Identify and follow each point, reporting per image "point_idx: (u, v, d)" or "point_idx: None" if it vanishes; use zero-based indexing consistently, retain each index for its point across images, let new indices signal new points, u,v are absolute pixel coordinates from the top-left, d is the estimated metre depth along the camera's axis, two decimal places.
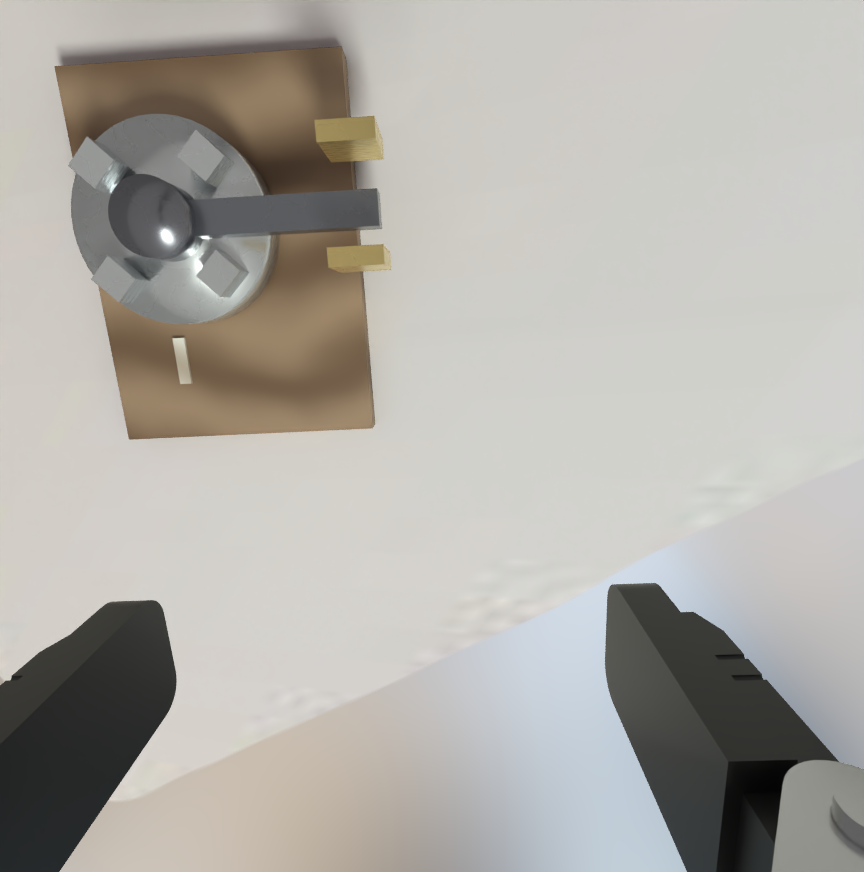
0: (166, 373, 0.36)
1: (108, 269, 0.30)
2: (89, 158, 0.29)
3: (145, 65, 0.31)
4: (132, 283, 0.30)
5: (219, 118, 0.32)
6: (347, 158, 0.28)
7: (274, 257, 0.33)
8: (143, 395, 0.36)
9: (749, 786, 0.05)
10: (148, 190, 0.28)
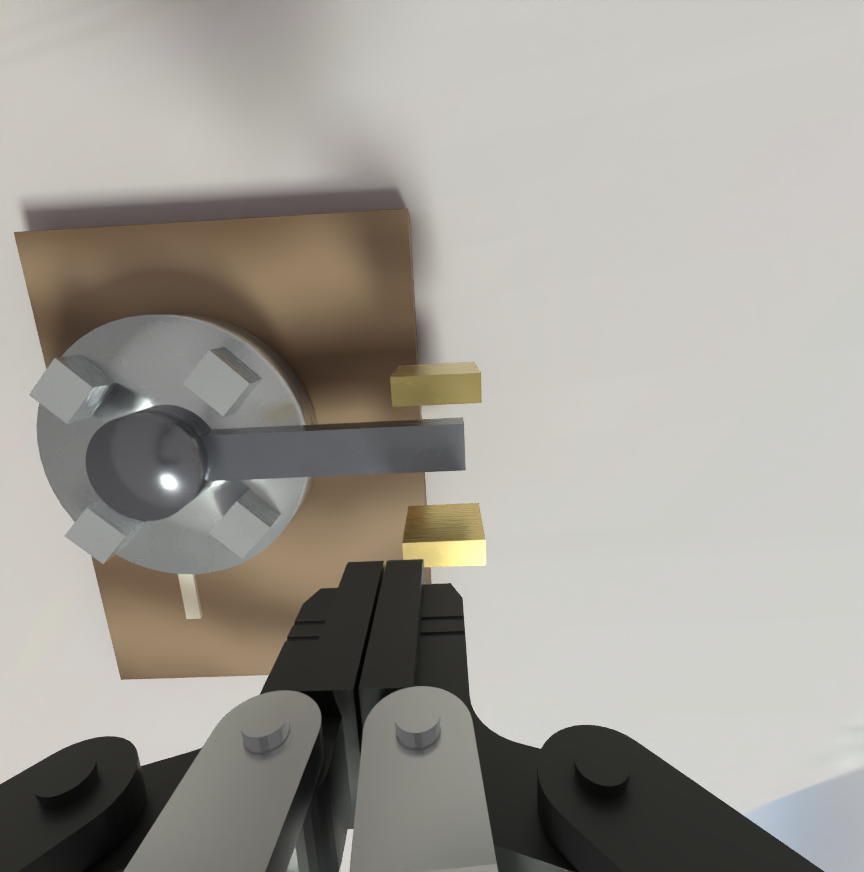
0: (168, 604, 0.27)
1: (88, 524, 0.22)
2: (59, 386, 0.20)
3: (137, 231, 0.23)
4: (121, 541, 0.22)
5: (239, 299, 0.23)
6: None
7: (312, 477, 0.25)
8: (139, 629, 0.28)
9: None
10: (143, 437, 0.20)
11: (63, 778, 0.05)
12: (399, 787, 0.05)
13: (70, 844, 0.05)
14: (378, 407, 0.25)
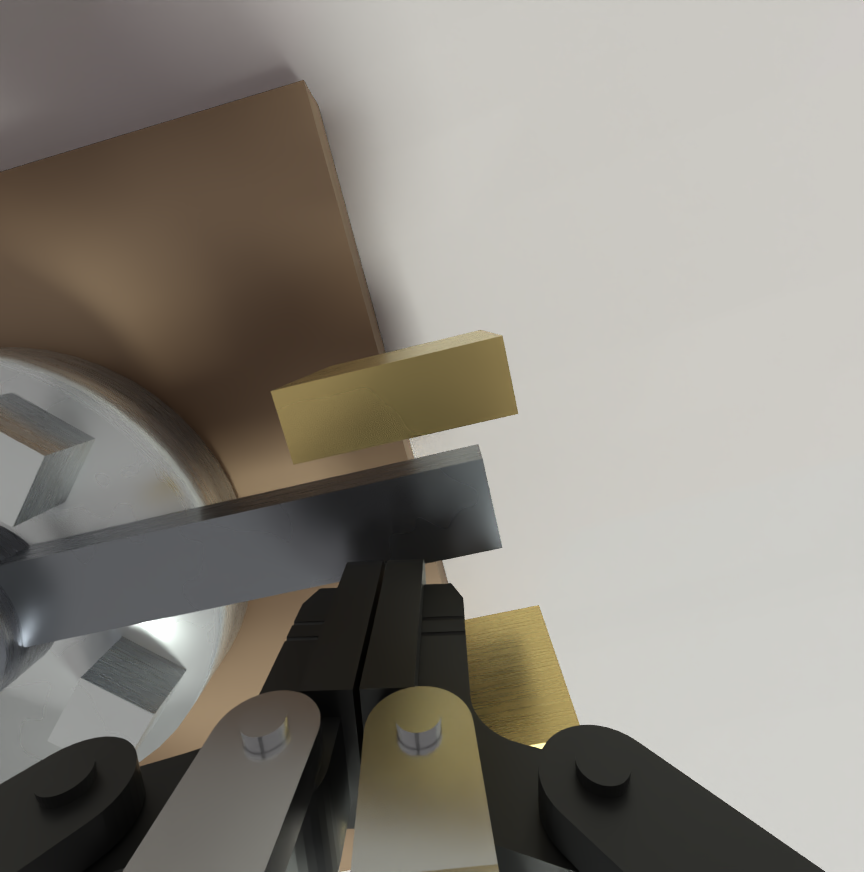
0: None
1: None
2: None
3: None
4: None
5: (57, 307, 0.14)
6: None
7: None
8: None
9: None
10: None
11: (62, 778, 0.05)
12: (400, 787, 0.05)
13: (69, 844, 0.05)
14: None
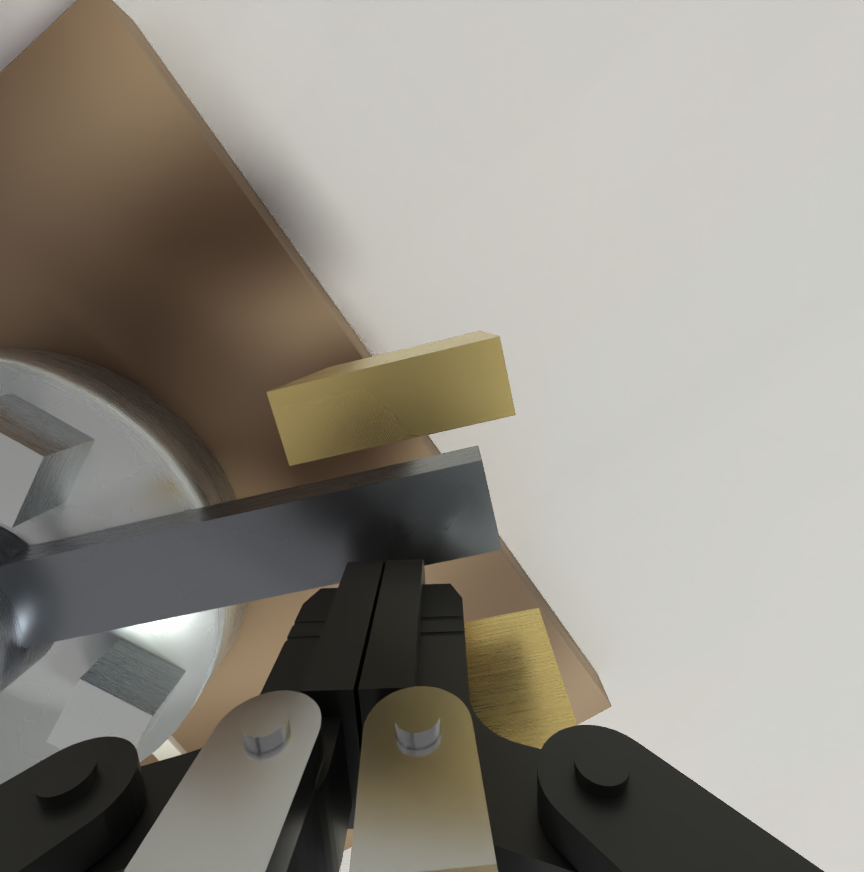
0: None
1: None
2: None
3: None
4: None
5: None
6: None
7: None
8: None
9: None
10: None
11: (63, 779, 0.05)
12: (399, 787, 0.05)
13: (70, 844, 0.05)
14: (265, 347, 0.14)
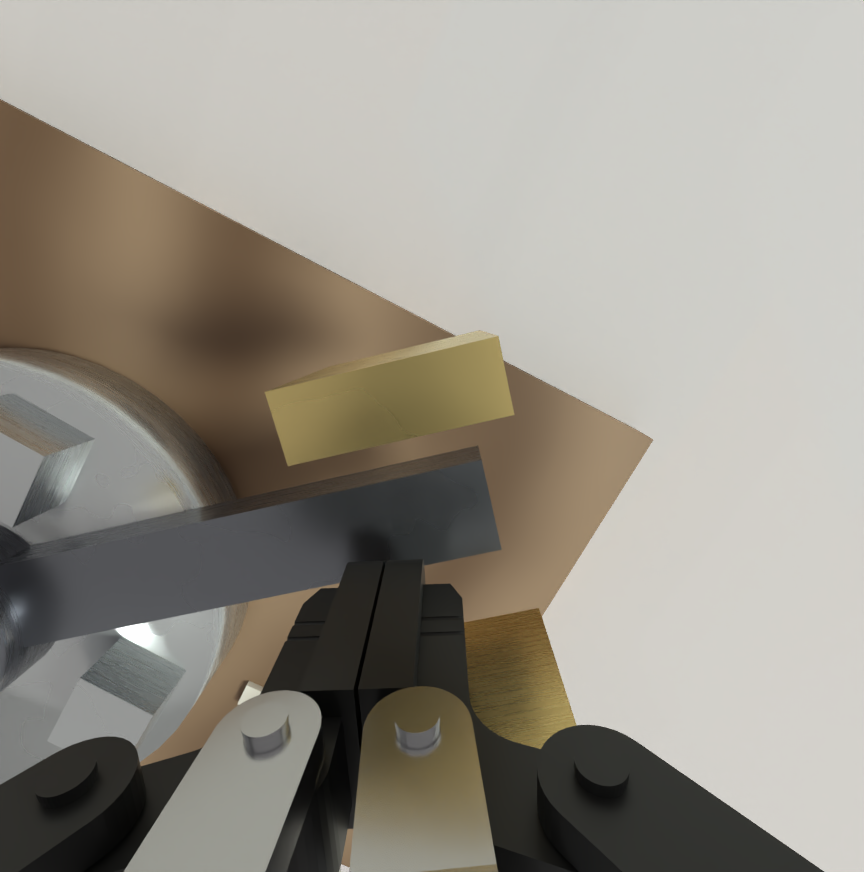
0: None
1: None
2: None
3: None
4: None
5: None
6: None
7: None
8: None
9: None
10: None
11: (63, 779, 0.05)
12: (399, 787, 0.05)
13: (71, 844, 0.05)
14: (120, 251, 0.13)
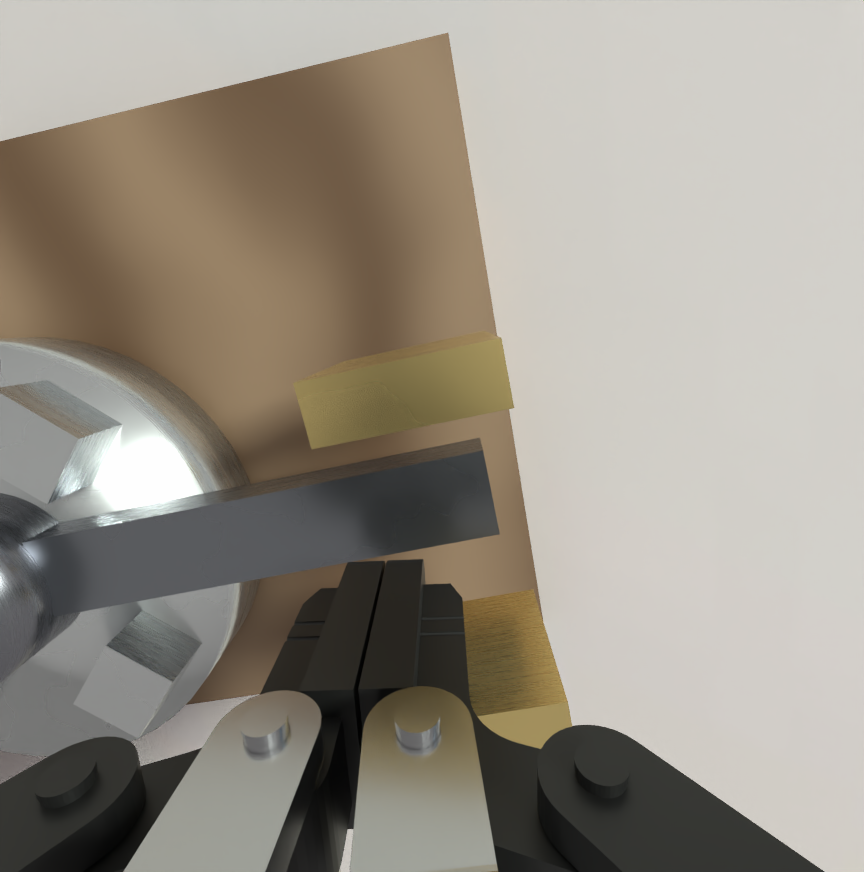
0: None
1: None
2: None
3: None
4: None
5: None
6: None
7: None
8: None
9: None
10: None
11: (63, 778, 0.05)
12: (399, 787, 0.05)
13: (70, 844, 0.05)
14: None
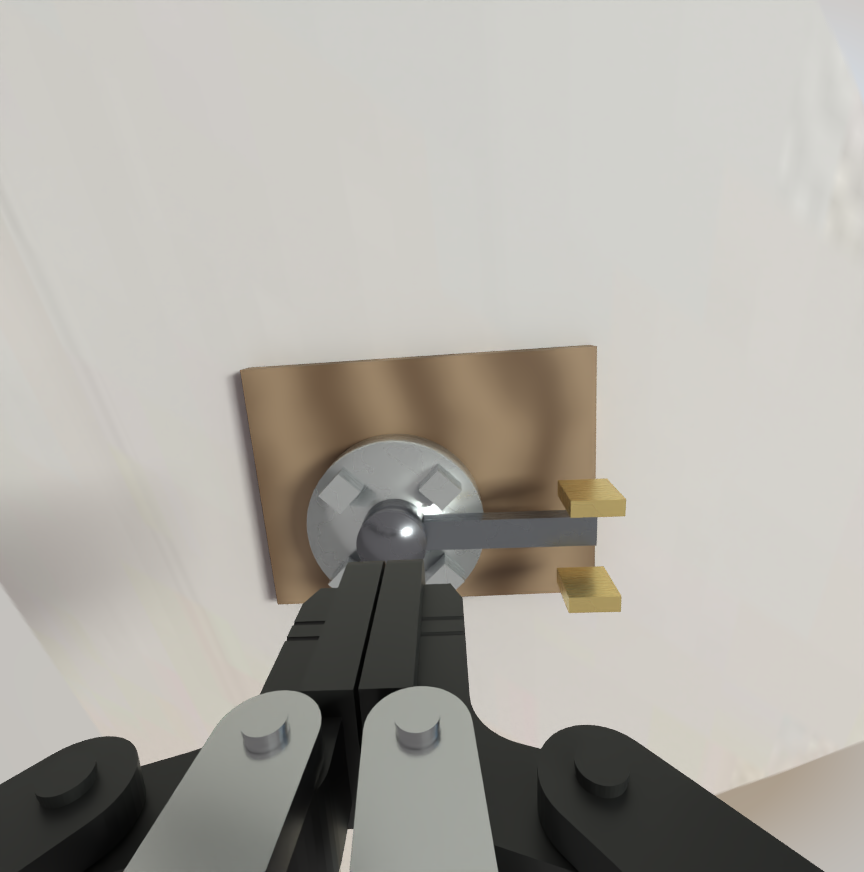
0: (529, 549, 0.37)
1: None
2: (338, 491, 0.32)
3: (270, 535, 0.37)
4: None
5: (305, 479, 0.36)
6: None
7: None
8: (550, 572, 0.37)
9: None
10: (395, 525, 0.31)
11: (64, 778, 0.05)
12: (399, 787, 0.05)
13: (70, 844, 0.05)
14: (372, 391, 0.34)
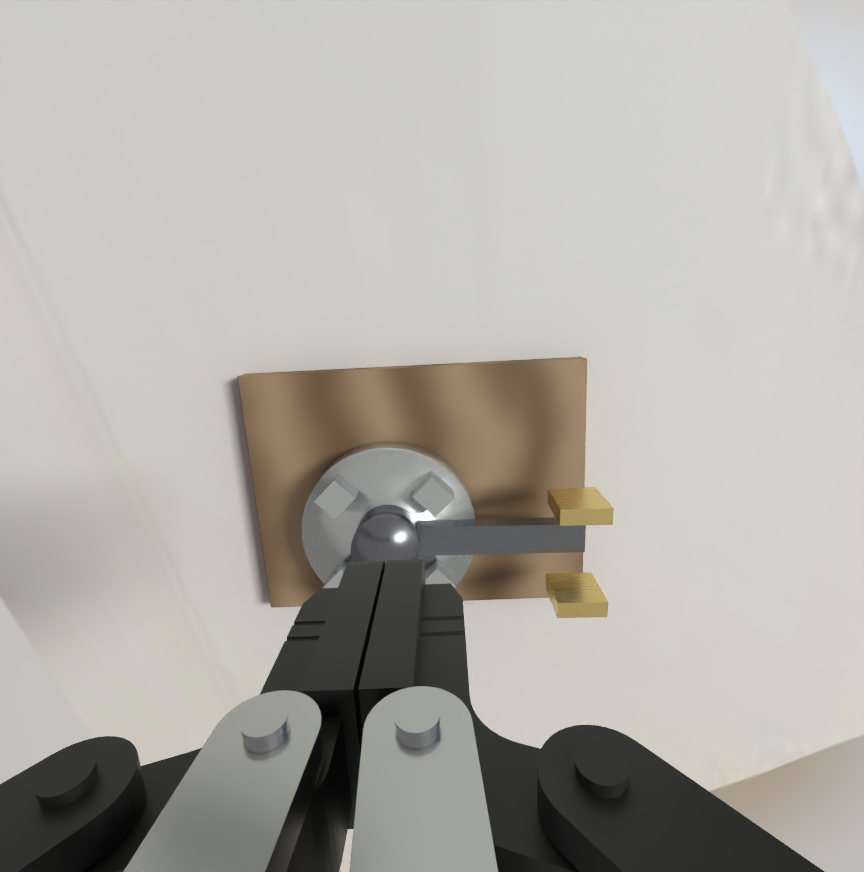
0: (519, 555, 0.38)
1: (338, 581, 0.34)
2: (333, 496, 0.32)
3: (265, 539, 0.38)
4: None
5: (300, 485, 0.37)
6: None
7: None
8: (539, 577, 0.38)
9: None
10: (389, 531, 0.32)
11: (63, 778, 0.05)
12: (399, 787, 0.05)
13: (71, 844, 0.05)
14: (368, 399, 0.35)
